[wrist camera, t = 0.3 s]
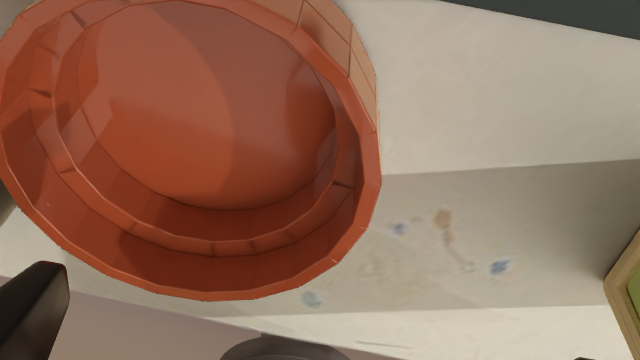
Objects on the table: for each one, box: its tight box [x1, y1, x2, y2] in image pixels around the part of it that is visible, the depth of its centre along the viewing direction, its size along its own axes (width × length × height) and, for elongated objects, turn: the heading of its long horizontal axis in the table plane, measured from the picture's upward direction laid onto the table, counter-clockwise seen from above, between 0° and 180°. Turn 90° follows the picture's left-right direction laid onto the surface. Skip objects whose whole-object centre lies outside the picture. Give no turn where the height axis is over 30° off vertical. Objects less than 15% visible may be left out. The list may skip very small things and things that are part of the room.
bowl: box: [0, 0, 382, 302], centre depth 20 cm, size 13×13×4 cm
